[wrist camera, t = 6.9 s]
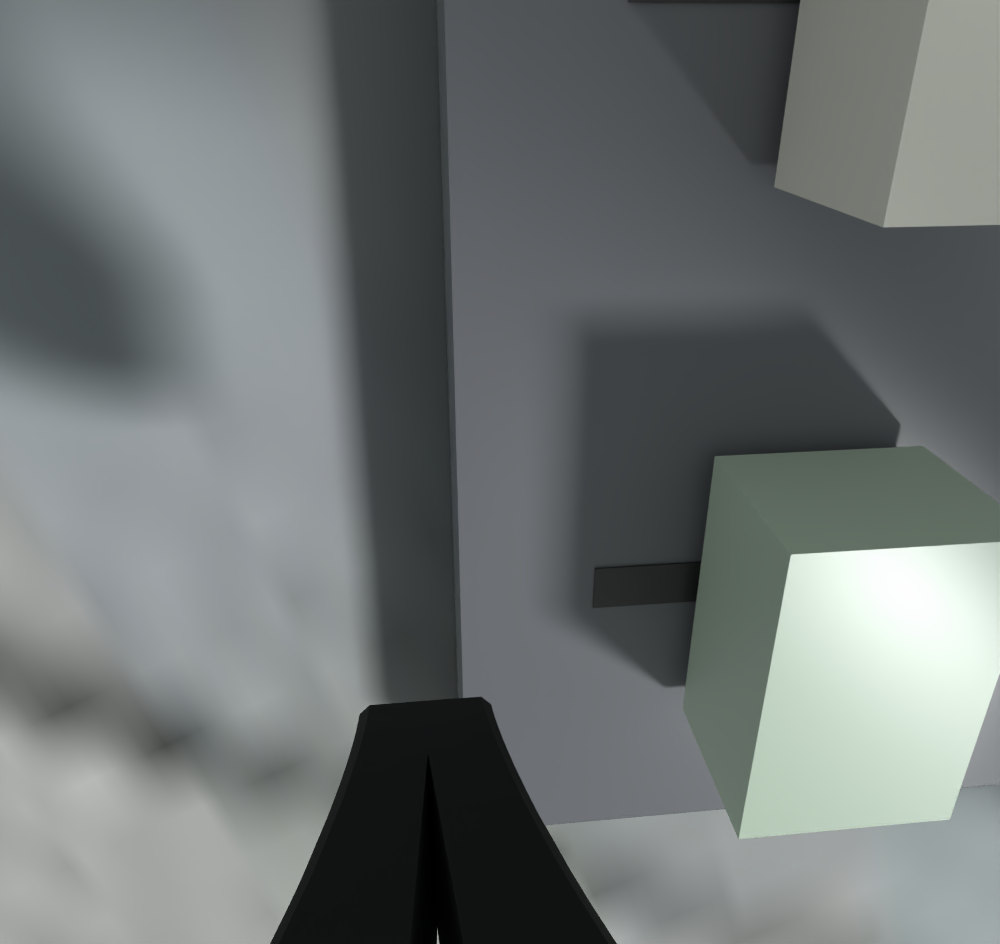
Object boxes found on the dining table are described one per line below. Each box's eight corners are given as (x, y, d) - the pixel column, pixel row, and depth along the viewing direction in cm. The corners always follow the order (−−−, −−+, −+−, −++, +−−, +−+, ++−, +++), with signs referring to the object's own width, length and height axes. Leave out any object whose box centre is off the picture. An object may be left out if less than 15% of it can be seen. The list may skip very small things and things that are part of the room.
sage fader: (923, 445, 12) (1045, 539, 9) (861, 694, 14) (949, 819, 12) (715, 455, 11) (790, 554, 9) (682, 708, 13) (738, 838, 11)
